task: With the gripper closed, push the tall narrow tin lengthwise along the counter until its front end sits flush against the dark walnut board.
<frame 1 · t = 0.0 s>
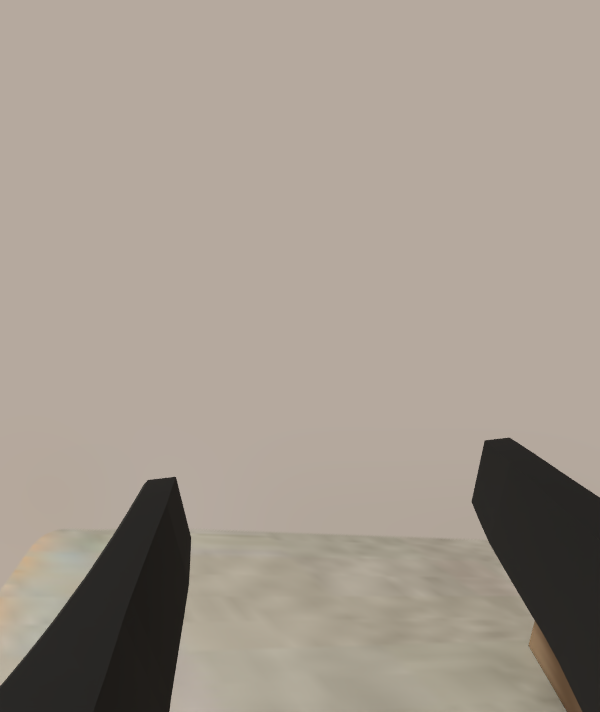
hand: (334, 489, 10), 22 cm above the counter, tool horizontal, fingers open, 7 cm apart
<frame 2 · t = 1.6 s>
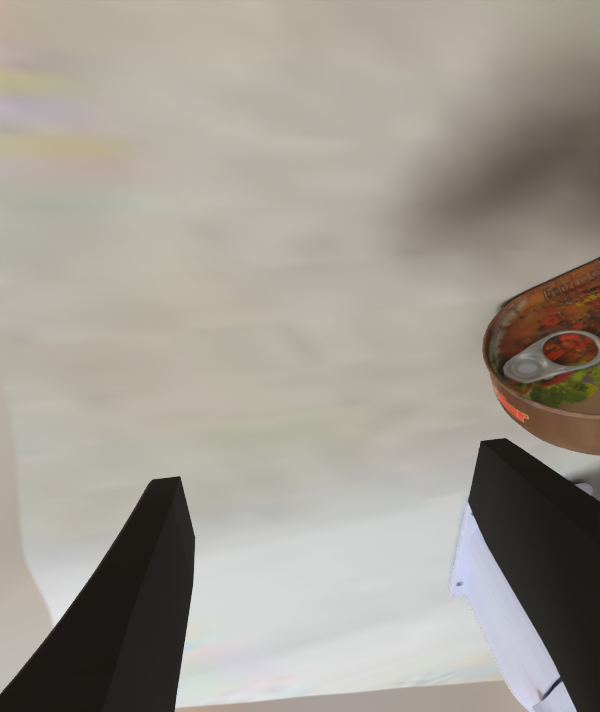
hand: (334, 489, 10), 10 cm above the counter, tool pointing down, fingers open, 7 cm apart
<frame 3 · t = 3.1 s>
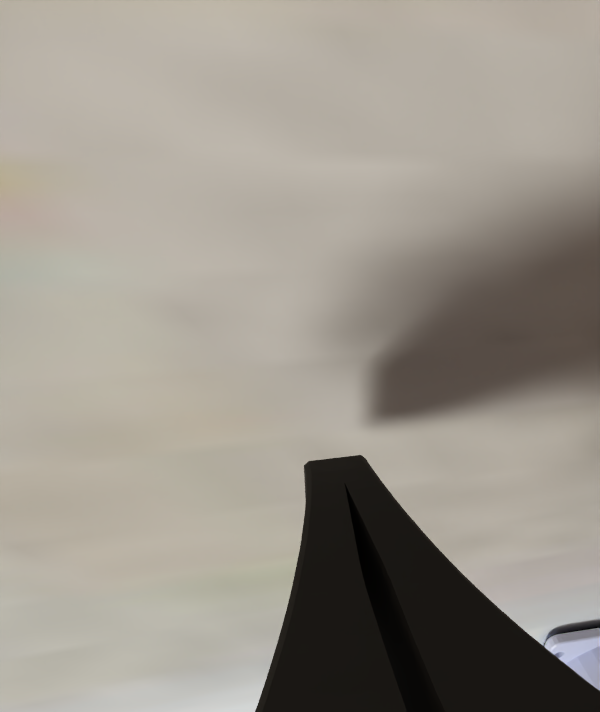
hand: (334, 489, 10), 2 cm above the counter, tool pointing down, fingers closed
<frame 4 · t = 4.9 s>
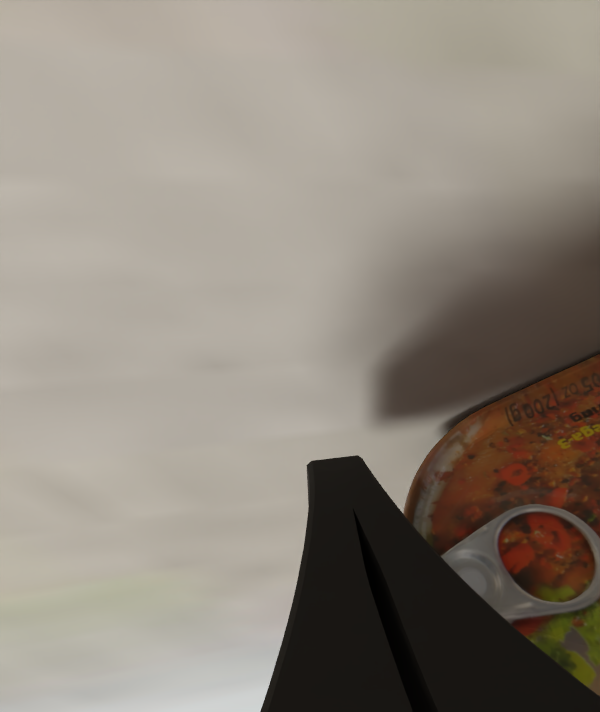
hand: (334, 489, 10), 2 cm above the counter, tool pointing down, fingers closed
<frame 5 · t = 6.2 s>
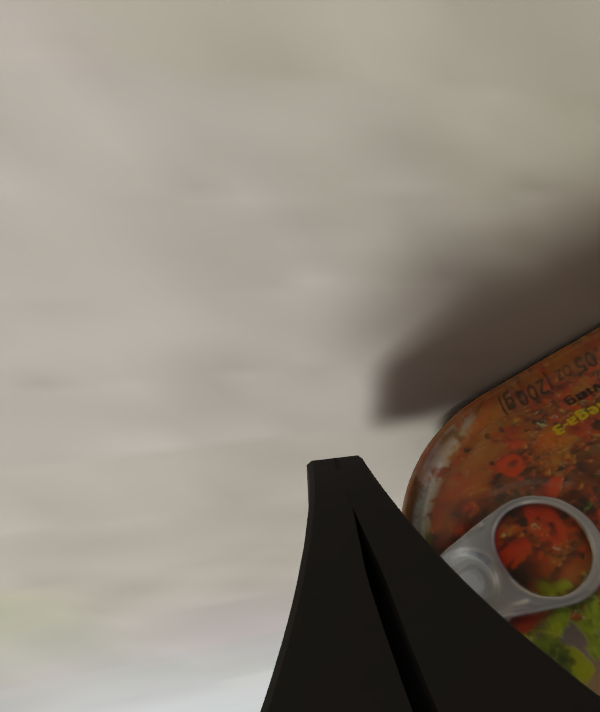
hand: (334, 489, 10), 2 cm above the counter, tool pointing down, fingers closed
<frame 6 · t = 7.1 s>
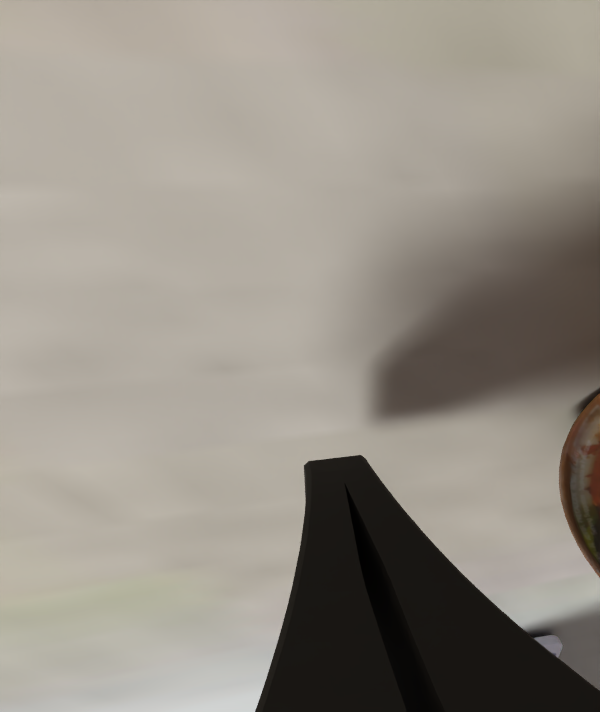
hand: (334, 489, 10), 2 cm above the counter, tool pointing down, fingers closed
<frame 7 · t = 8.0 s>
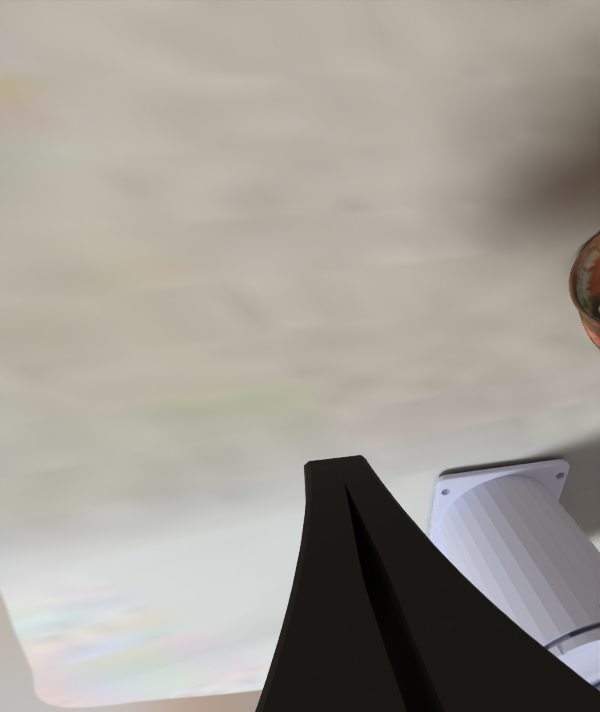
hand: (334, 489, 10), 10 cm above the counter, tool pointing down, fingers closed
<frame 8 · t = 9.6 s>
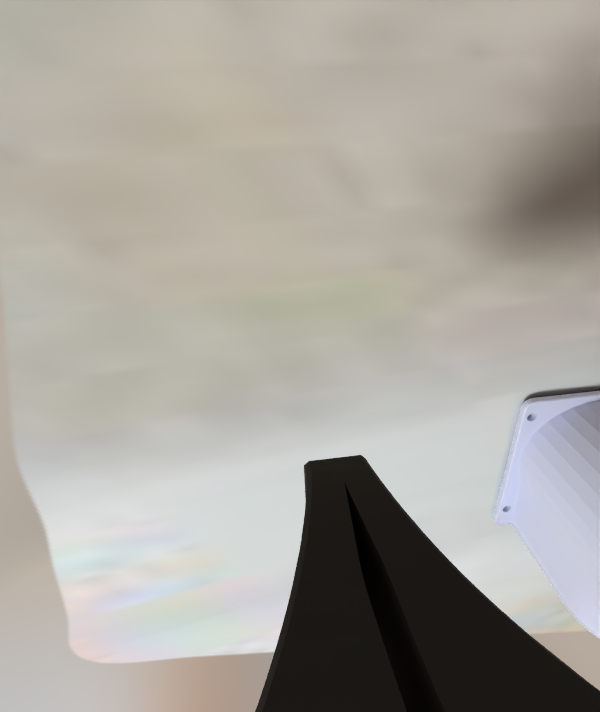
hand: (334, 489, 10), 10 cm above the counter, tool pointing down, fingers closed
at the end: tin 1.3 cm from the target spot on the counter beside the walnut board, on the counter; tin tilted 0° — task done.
